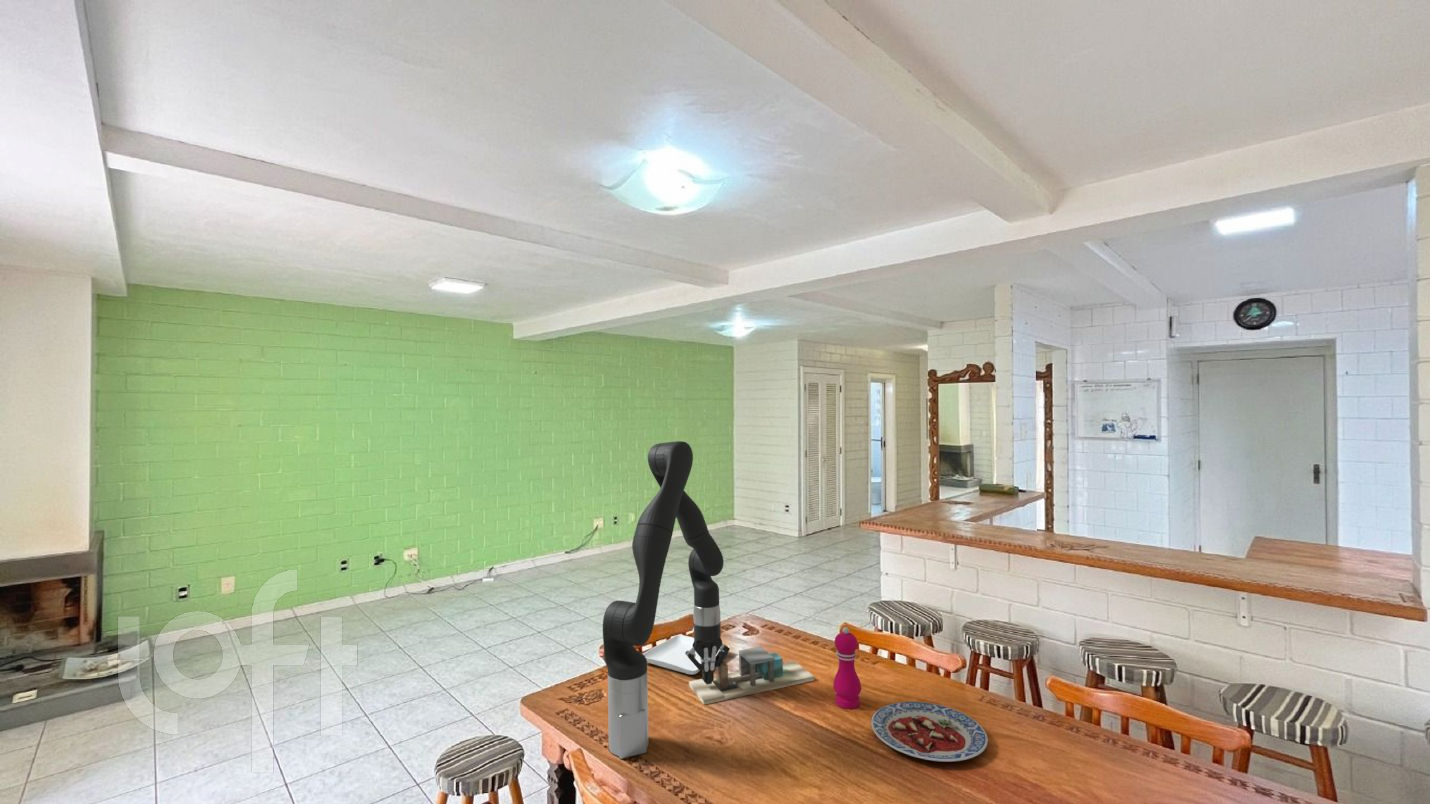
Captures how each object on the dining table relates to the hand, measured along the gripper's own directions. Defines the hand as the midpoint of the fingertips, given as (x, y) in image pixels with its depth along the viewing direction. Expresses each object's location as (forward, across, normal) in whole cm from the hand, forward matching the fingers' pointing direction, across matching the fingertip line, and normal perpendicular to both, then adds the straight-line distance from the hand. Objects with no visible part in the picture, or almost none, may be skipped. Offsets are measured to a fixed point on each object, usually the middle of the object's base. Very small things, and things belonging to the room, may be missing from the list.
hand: (708, 682), depth 162 cm
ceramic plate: (+3, +39, -42) cm, 58 cm away
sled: (+1, +13, 0) cm, 13 cm away
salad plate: (+3, +1, +23) cm, 23 cm away
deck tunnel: (+2, +14, 0) cm, 15 cm away
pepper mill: (+3, +31, -21) cm, 38 cm away
